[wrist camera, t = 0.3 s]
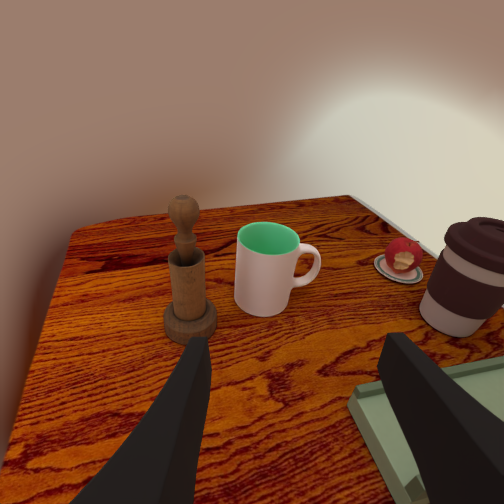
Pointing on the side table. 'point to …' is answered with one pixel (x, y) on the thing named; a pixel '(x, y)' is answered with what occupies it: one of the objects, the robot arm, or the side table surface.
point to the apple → (401, 261)
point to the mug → (269, 267)
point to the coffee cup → (466, 278)
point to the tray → (392, 438)
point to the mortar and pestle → (187, 279)
